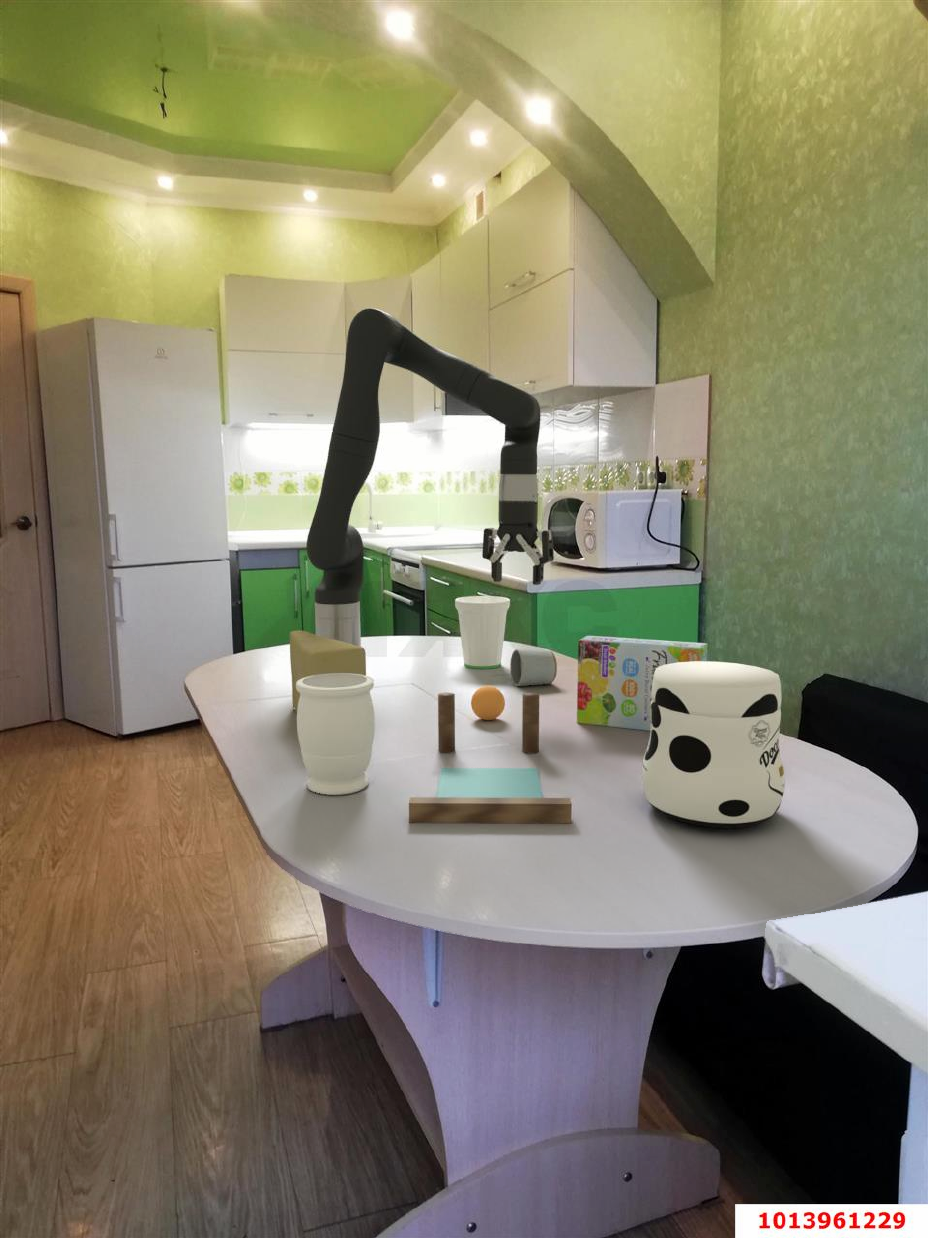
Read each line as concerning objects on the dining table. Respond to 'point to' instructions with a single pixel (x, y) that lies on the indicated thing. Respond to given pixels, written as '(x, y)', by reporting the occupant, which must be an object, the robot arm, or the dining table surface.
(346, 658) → the cheese
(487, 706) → the ball
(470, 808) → the rail
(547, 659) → the ceramic mug
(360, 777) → the jar
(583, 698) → the snack box
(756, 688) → the spotted treat canister
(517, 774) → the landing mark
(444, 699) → the left post
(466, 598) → the cup
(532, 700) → the right post
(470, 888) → the dining table surface
